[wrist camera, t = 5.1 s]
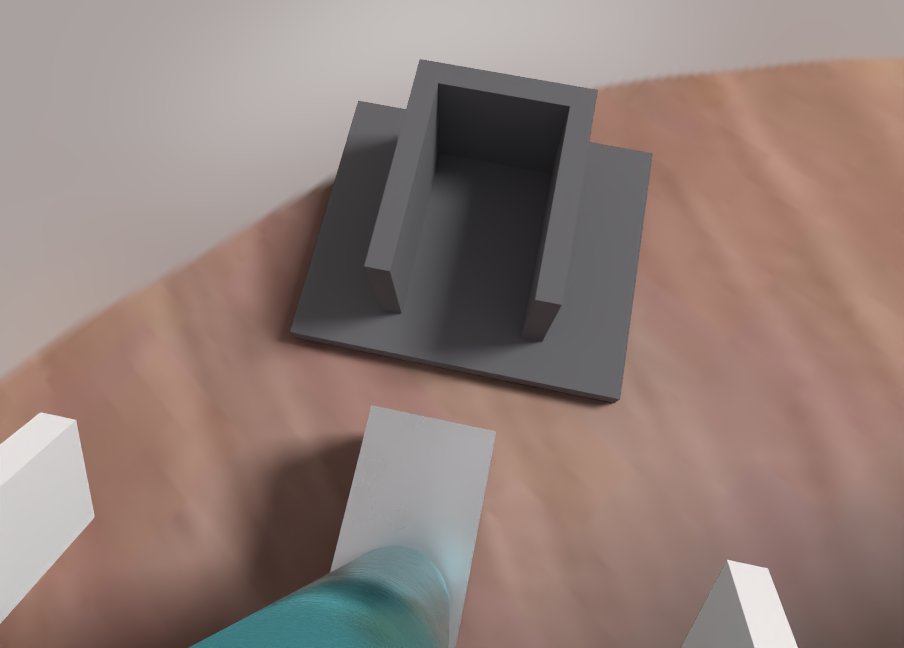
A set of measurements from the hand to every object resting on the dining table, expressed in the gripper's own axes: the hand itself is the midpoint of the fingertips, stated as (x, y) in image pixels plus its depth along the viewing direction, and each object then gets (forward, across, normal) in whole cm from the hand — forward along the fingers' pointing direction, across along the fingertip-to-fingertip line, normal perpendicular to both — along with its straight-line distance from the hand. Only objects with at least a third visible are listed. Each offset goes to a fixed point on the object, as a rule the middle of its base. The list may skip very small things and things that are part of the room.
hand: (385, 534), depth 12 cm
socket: (+14, 0, +1) cm, 14 cm away
